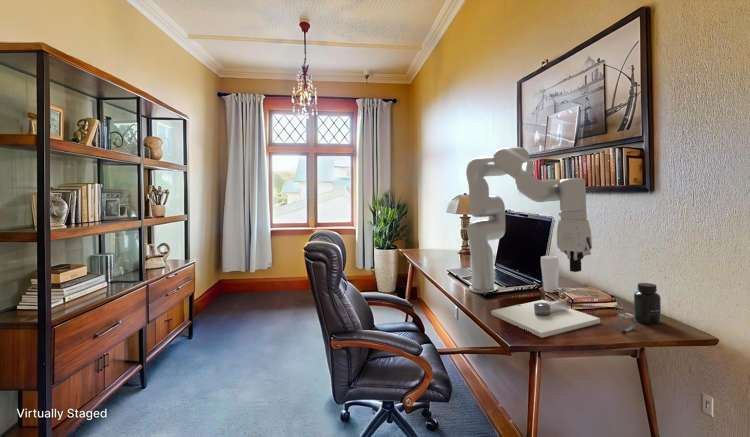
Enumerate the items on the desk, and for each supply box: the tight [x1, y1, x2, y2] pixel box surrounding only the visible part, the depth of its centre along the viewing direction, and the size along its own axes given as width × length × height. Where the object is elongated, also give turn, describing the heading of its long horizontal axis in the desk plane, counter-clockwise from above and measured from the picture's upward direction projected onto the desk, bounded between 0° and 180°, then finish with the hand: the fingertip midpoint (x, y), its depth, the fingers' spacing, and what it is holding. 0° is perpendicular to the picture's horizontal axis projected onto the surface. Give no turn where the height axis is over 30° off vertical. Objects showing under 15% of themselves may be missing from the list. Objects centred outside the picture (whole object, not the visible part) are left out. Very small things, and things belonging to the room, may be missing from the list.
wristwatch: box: [616, 312, 637, 333], centre depth 109 cm, size 6×3×5 cm, turn 105°
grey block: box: [534, 298, 568, 316], centre depth 125 cm, size 12×5×3 cm, turn 109°
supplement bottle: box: [633, 282, 662, 326], centre depth 114 cm, size 7×7×12 cm
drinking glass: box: [540, 255, 560, 292], centre depth 152 cm, size 7×7×15 cm
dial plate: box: [490, 299, 601, 339], centre depth 124 cm, size 24×24×2 cm
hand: (575, 271), depth 119 cm, fingers closed
